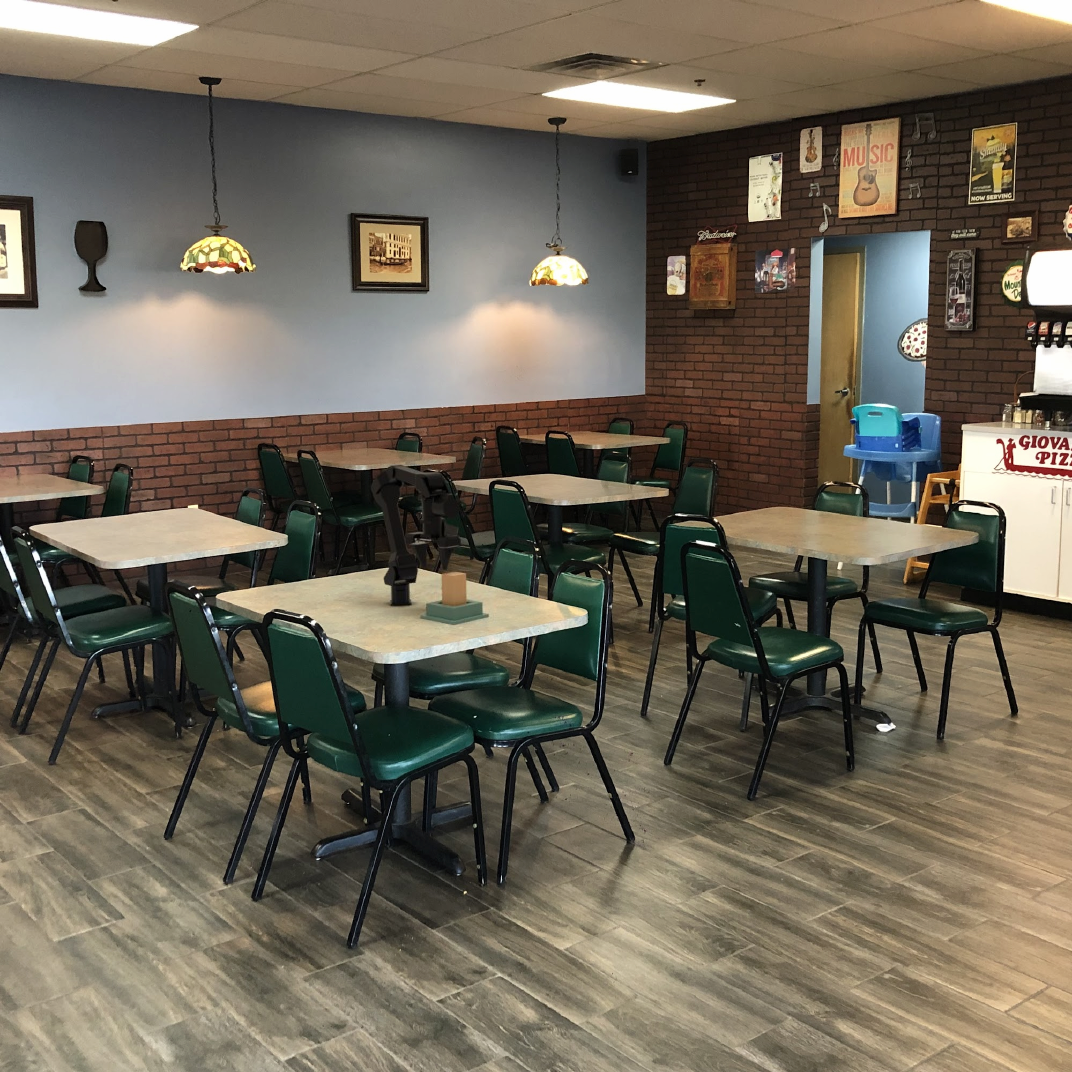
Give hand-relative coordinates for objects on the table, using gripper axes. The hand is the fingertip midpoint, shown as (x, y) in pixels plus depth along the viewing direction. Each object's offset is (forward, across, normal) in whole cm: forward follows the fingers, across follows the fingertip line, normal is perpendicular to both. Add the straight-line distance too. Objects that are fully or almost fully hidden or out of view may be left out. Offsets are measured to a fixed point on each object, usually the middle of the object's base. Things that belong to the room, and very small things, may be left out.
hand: (434, 568), depth 356 cm
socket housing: (+13, -9, +1) cm, 16 cm away
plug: (+13, -9, +1) cm, 16 cm away
